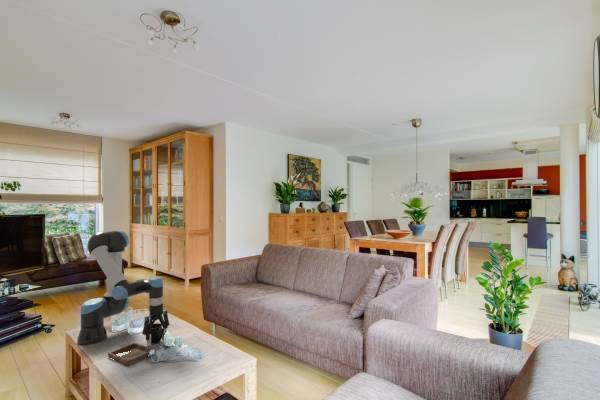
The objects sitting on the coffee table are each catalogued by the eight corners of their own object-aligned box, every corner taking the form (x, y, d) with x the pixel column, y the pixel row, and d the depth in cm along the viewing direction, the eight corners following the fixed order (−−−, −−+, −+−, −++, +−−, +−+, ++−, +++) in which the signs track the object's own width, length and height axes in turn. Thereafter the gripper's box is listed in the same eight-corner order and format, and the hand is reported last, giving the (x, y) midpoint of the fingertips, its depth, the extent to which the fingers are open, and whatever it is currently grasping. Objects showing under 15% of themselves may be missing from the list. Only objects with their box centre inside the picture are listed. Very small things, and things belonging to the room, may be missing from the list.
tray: (108, 358, 167) (108, 353, 167) (134, 346, 180) (134, 342, 180) (128, 366, 158) (128, 361, 158) (154, 354, 171) (154, 349, 171)
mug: (156, 347, 179) (156, 330, 179) (143, 342, 185) (143, 326, 185) (168, 342, 186) (168, 326, 186) (156, 337, 192) (156, 322, 192)
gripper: (143, 310, 174) (143, 351, 174) (175, 299, 193) (176, 336, 193) (134, 308, 178) (135, 348, 178) (167, 298, 197) (168, 334, 197)
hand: (156, 342), depth 185 cm, fingers open, 9 cm apart
